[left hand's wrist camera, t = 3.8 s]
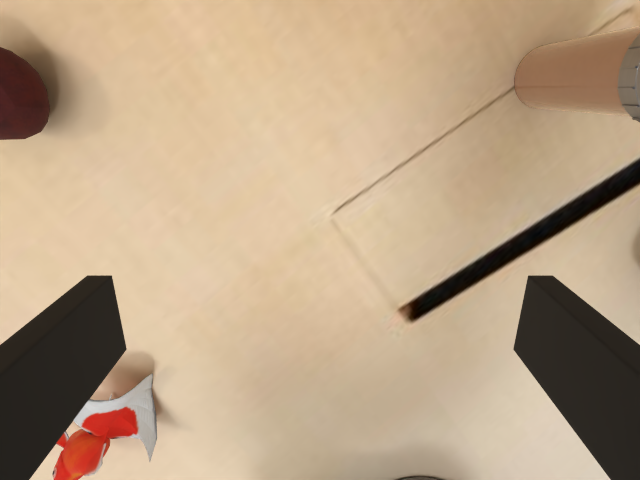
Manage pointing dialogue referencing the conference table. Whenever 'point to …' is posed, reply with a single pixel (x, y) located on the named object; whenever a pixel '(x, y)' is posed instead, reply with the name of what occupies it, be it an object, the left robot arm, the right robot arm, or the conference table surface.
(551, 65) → the jar
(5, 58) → the dark red ball
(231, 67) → the conference table surface
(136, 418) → the fish
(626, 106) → the lid
